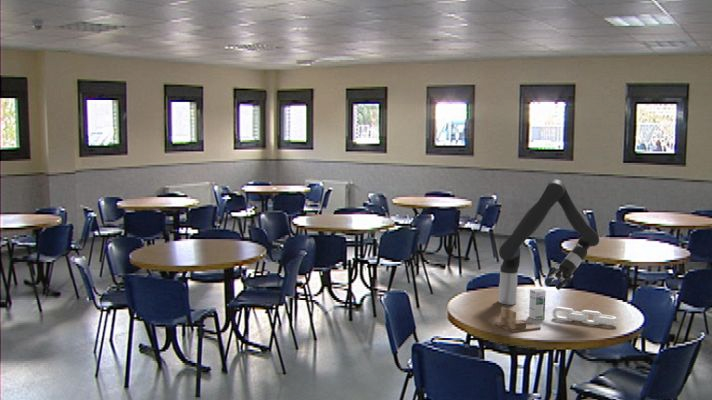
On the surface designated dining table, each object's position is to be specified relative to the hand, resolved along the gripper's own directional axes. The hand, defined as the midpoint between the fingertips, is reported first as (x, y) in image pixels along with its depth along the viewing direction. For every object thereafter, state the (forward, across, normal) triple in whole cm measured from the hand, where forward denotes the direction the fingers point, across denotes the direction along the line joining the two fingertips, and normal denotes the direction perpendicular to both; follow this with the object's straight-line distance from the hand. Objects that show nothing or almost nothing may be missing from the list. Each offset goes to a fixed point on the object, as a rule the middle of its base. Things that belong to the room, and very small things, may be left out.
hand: (551, 287), depth 351 cm
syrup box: (+17, 0, +5) cm, 18 cm away
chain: (+5, +14, +18) cm, 23 cm away
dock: (+30, +10, -9) cm, 33 cm away
